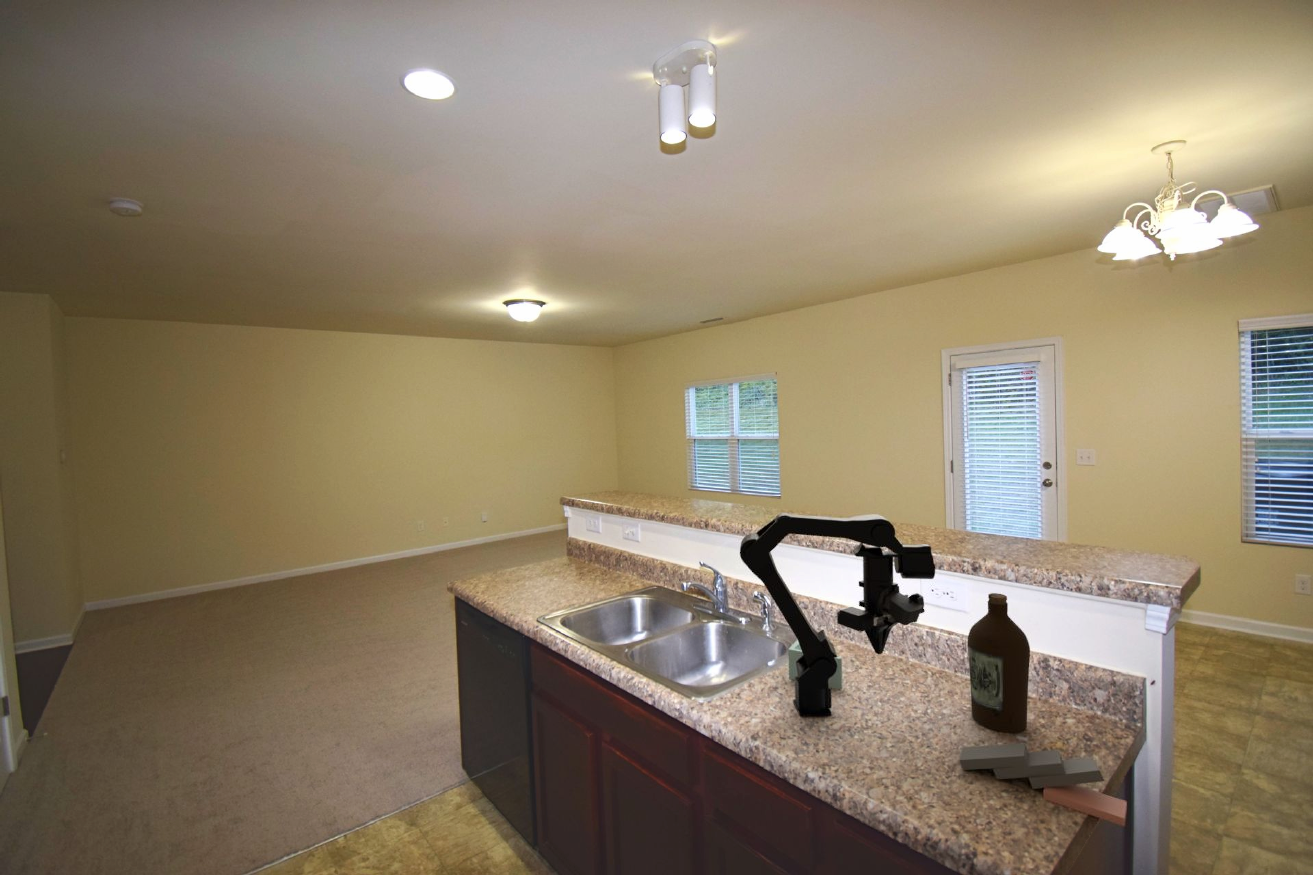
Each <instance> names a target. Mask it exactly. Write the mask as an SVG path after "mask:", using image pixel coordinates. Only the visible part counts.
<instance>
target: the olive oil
mask: <svg viewBox="0 0 1313 875" xmlns="http://www.w3.org/2000/svg"><path fill="white" fill-rule="evenodd" d="M1007 600H1008V596H1006V595H1005V594H1003V593H998V592H996V593H995V592H994V593H993V592H991V593H989V594H988V601H987V613H986V614H985V615H984V616H983V617H981V619H979V620H978V621H976V622H975V623H974V624H973V625H972V626H971V628H970V629H969V632H968V635H967V636H968V637H967V651H968V652H967V653H968V669H969V682H970V684H969V685H970V700H971V701H970V702H971V705H970V706H971V716H972V718H973V720H974V721H975V722H976V723H978V724H979V725H980V726H982V727H985V728H987V729H989V730H993V731H995V732H1000V733H1011V734H1012V733H1020V732H1023V731H1025V730H1026V728H1027V726H1028V695H1029V694H1028V692H1029V677H1030V676H1029V674H1030V673H1029V672H1030V659H1031V657H1030V656H1031V648H1030V647H1031V646H1030V644H1029V639H1028V638H1027V635H1026V633H1025V632H1024V631H1023V630H1022V629H1021V628H1020V627H1019V625H1018V624H1016V623H1015V621H1013V620H1012V618H1011V617H1010V616H1009V615H1008V611H1009V610H1008V606H1009V603H1008V602H1007Z"/></svg>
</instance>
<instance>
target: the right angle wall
mask: <svg viewBox="0 0 1313 875" xmlns="http://www.w3.org/2000/svg"><path fill="white" fill-rule="evenodd" d="M802 655H803V653H802V650H801V647H800V644H799V642H798V639H797V638H796V640H795V642H794V643H793V644H792V645H791V646H790V647H789V648H788V679H789V680H793V681H795V677H798V673H797V667H796V661H797V660H798V659H799V658H800V657H801V656H802ZM835 659H836V662H837V670H836V672H835V674H834V675H833V676H832V677H831V678H829V680H828V684H829V687H830V688H831V689H832V688H833V689H837V690H841V691H842V690H843V658H842V656H841V657H840V656H837V657H835Z"/></svg>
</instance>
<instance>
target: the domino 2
mask: <svg viewBox="0 0 1313 875" xmlns="http://www.w3.org/2000/svg"><path fill="white" fill-rule="evenodd" d="M1028 752H1029V758H1028V766H1024V767H1006V768H992V771H993V772H994V775H995V778H996V780H1005V779H1006V780H1007V779H1018V778H1019V779H1020V778H1028V777H1033V776H1045V775H1058V774H1066V773H1065V768H1064V764H1063V760H1064V759H1063V758H1062V755H1061V752H1060V751H1059V749H1053V750H1042V751H1028Z"/></svg>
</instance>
